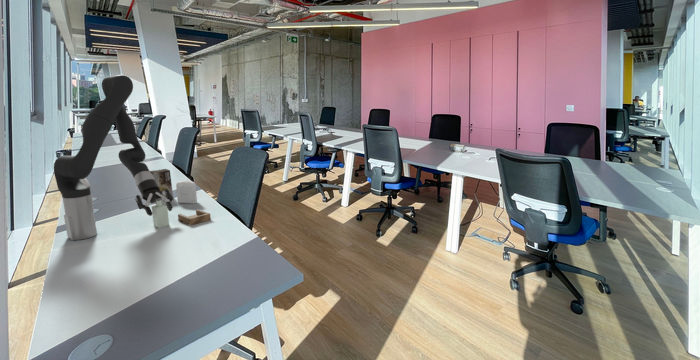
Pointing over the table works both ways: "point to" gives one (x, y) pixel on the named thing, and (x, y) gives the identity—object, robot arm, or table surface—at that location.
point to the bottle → (160, 214)
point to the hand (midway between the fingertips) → (161, 212)
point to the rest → (194, 218)
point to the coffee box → (163, 180)
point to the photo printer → (186, 192)
